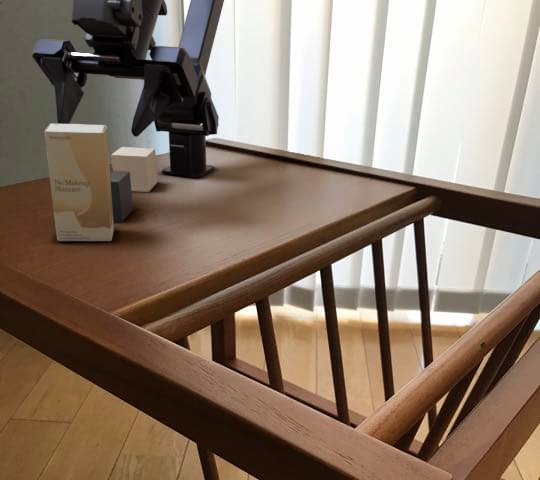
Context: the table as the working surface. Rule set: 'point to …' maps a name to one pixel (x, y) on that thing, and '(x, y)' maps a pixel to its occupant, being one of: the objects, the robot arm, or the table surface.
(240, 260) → the table surface
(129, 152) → the ivory block
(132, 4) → the robot arm
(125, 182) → the slate block
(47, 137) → the cosmetic box
